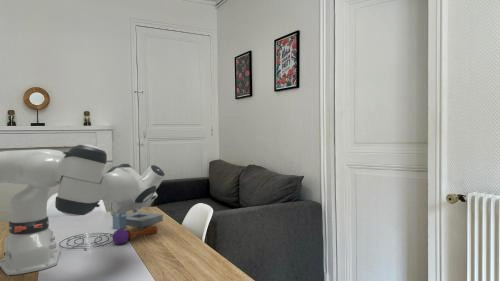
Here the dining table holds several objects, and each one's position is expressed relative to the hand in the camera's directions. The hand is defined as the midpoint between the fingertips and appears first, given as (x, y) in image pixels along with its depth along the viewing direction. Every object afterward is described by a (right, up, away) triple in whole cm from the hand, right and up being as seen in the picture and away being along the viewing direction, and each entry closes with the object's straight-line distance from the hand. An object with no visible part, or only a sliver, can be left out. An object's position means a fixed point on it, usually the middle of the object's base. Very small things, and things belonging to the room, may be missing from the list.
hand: (126, 213), depth 160 cm
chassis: (+2, -7, +12) cm, 14 cm away
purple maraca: (+10, -8, -16) cm, 20 cm away
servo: (-3, -7, +1) cm, 8 cm away
